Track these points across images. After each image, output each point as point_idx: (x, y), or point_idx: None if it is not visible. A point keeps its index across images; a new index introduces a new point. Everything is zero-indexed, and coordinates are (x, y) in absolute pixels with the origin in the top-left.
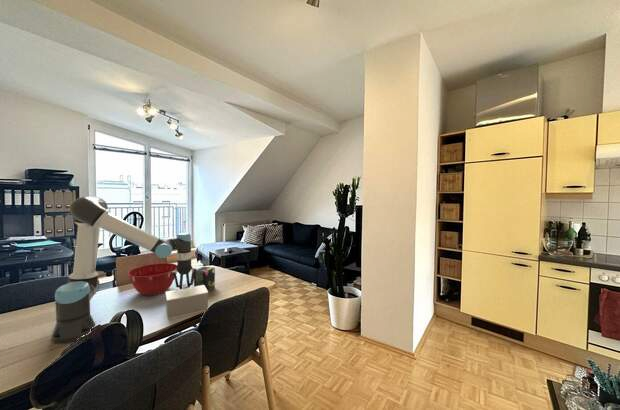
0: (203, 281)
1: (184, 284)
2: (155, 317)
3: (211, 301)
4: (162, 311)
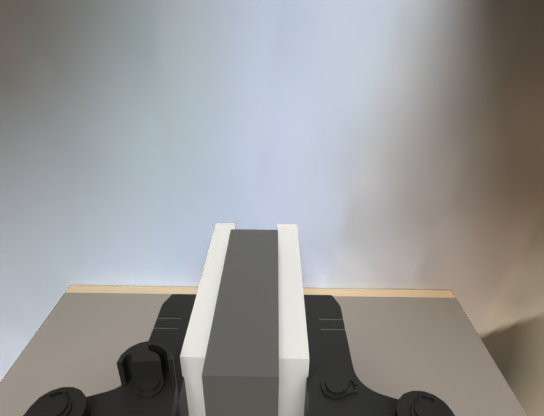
0: None
1: (243, 406)
2: (2, 367)
3: (523, 310)
4: (37, 294)
